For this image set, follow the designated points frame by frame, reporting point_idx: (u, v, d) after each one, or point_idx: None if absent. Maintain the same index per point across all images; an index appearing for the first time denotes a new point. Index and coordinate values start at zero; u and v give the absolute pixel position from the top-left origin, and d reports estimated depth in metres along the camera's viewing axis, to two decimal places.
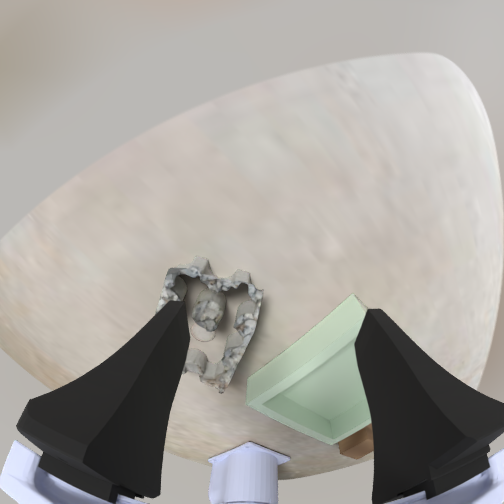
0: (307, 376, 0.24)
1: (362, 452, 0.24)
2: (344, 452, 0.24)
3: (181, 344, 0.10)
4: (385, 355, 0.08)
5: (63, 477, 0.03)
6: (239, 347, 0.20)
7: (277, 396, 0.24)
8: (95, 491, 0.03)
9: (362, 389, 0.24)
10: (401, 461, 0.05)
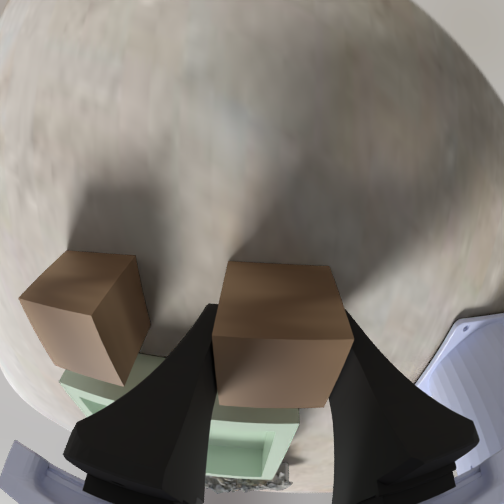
0: (220, 436, 0.18)
1: (296, 363, 0.08)
2: (313, 404, 0.09)
3: None
4: None
5: (115, 500, 0.03)
6: (224, 477, 0.20)
7: (263, 448, 0.17)
8: (95, 491, 0.03)
9: None
10: (355, 471, 0.05)
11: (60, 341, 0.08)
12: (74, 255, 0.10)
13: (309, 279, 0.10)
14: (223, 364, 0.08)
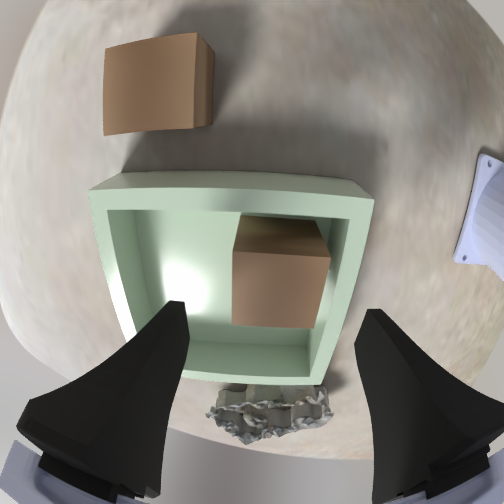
0: None
1: (291, 277, 0.11)
2: (305, 324, 0.13)
3: (181, 344, 0.10)
4: (385, 355, 0.08)
5: (63, 477, 0.03)
6: (253, 405, 0.20)
7: (311, 332, 0.17)
8: (95, 491, 0.03)
9: (223, 222, 0.15)
10: (400, 461, 0.05)
11: (136, 82, 0.08)
12: None
13: (299, 226, 0.13)
14: (238, 278, 0.12)
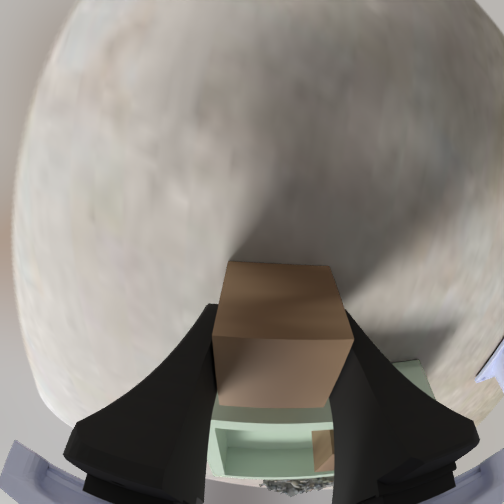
0: None
1: None
2: None
3: None
4: None
5: (115, 500, 0.03)
6: (299, 480, 0.20)
7: None
8: (95, 491, 0.03)
9: None
10: (354, 471, 0.05)
11: (265, 377, 0.08)
12: (249, 268, 0.10)
13: None
14: (330, 460, 0.11)
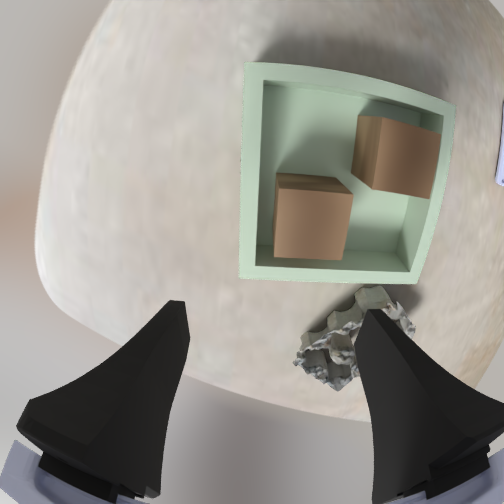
0: (363, 216, 0.18)
1: (418, 145, 0.12)
2: (424, 194, 0.13)
3: (181, 344, 0.10)
4: (385, 355, 0.08)
5: (63, 477, 0.03)
6: (338, 333, 0.21)
7: (405, 232, 0.18)
8: (95, 491, 0.03)
9: (344, 119, 0.15)
10: (401, 461, 0.05)
11: (306, 224, 0.14)
12: (289, 174, 0.17)
13: None
14: (384, 141, 0.12)
